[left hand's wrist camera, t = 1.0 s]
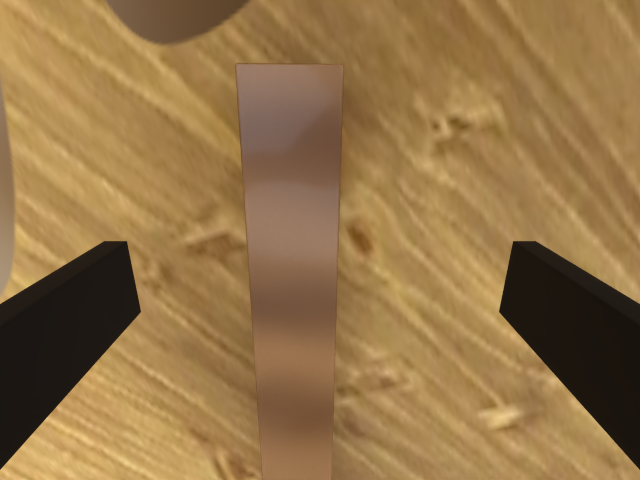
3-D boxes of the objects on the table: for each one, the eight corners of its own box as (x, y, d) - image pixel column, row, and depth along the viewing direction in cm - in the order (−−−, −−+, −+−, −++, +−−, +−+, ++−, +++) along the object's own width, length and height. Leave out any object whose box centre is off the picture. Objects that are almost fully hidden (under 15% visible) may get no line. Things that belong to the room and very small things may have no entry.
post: (262, 77, 24) (234, 62, 16) (336, 78, 24) (344, 64, 16) (285, 615, 46) (277, 715, 38) (323, 615, 46) (324, 716, 38)
